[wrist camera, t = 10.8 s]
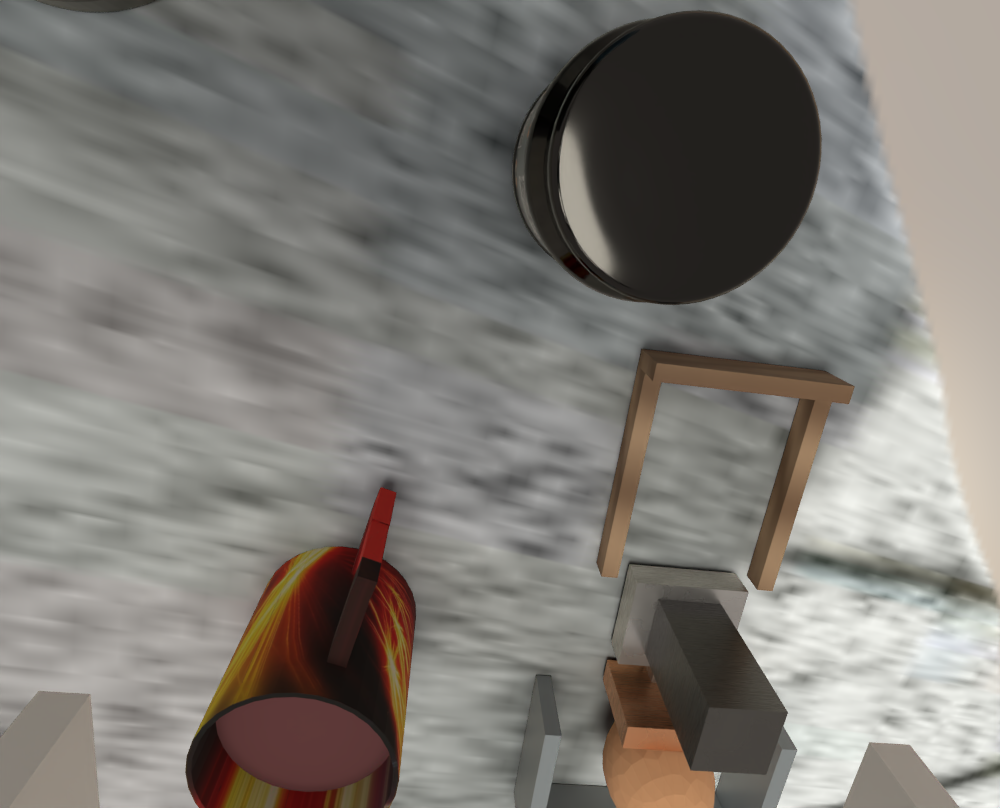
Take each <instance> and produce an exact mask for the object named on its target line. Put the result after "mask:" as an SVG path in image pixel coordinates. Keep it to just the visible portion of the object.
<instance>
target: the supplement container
mask: <svg viewBox="0 0 1000 808" xmlns="http://www.w3.org/2000/svg"><path fill="white" fill-rule="evenodd" d="M821 142H822V137H821V126H820V119H819V114H818V109H817V105H816V102H815V98H814V95H813V92H812V90H811V88H810V85H809V83H808V81H807V78H806V77H805V75H804V73H803V71H802V70H801V68H800V66H799V65H798V63H797V62H796V61H795V59H794V58H793V57H792V55H791V54H790V53H789V52H788V51H787V50H786V49H785V48H784V46H783V45H782V44H781V43H780V42H778V41H777V40H776V39H775V38H774V37H772V36H771V35H770V34H769V33H767V32H766V31H764V30H763V29H761V28H760V27H758V26H756V25H754V24H752V23H750V22H748V21H746V20H744V19H741V18H738V17H735V16H732V15H729V14H724V13H719V12H714V11H701V10H698V11H682V12H676V13H670V14H666V15H663V16H659V17H656V18H650V19H644V20H639V21H635V22H632V23H628V24H625V25H623V26H620V27H618V28H615V29H613V30H611V31H609V32H607V33H605V34H603V35H602V36H600V37H598V38H596V39H595V40H594V41H592V42H591V43H589V44H588V45H586V46H585V47H584V48H583V49H581V50H580V51H579V52H578V53H577V54H576V55H575V56H573V57H572V58H571V59H570V61H569V62H568V63H567V64H566V65H565V66H564V67H563V68H562V69H561V70H560V72H559V73H558V74H557V76H556V77H555V78H554V80H553V81H552V82H551V83H550V84H549V85H548V86H547V88H546V89H545V90H544V91H543V92H542V93H541V94H540V95H539V97H538V98H537V99H536V101H535V102H534V103H533V105H532V107H531V108H530V110H529V112H528V113H527V115H526V117H525V119H524V121H523V123H522V126H521V128H520V131H519V134H518V137H517V141H516V145H515V149H514V155H513V165H512V180H513V189H514V196H515V200H516V204H517V207H518V210H519V213H520V215H521V218H522V220H523V222H524V224H525V226H526V228H527V229H528V231H529V233H530V234H531V236H532V237H533V238H534V240H535V241H536V242H537V244H538V245H539V246H540V247H541V248H542V249H543V250H544V251H545V252H546V253H547V254H548V255H550V256H551V257H552V258H553V259H554V260H556V261H557V262H558V263H559V265H560V266H561V267H562V268H563V269H564V270H565V271H567V272H568V273H569V274H570V275H571V276H573V277H574V278H575V279H576V280H578V281H579V282H581V283H582V284H584V285H585V286H587V287H589V288H591V289H593V290H595V291H597V292H599V293H601V294H604V295H607V296H609V297H613V298H616V299H620V300H625V301H632V302H647V303H655V304H665V305H680V304H690V303H696V302H701V301H705V300H709V299H712V298H715V297H718V296H721V295H723V294H726V293H728V292H730V291H732V290H734V289H736V288H738V287H740V286H741V285H743V284H744V283H746V282H748V281H749V280H751V279H752V278H753V277H755V276H756V275H757V274H759V273H760V272H761V271H763V270H764V269H765V268H766V267H767V266H768V265H769V264H770V263H771V262H772V261H773V260H774V259H775V258H776V257H777V256H778V255H779V254H780V253H781V252H782V251H783V249H784V248H785V247H786V245H787V244H788V243H789V241H790V240H791V239H792V237H793V236H794V234H795V233H796V231H797V229H798V228H799V226H800V224H801V222H802V220H803V218H804V216H805V214H806V212H807V210H808V208H809V205H810V203H811V200H812V198H813V194H814V191H815V188H816V184H817V180H818V175H819V170H820V162H821Z"/></svg>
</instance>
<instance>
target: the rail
mask: <svg viewBox="0 0 1000 808" xmlns="http://www.w3.org/2000/svg"><path fill="white" fill-rule="evenodd" d="M661 382H664V383H673V384H681V385H690V386H698V387H707V388H716V389H724V390H733V391H741V392H750V393H759V394H767V395H776V396H784V397H793V398H800V400H799V404H798V407H797V410H796V414H795V417H794V420H793V424H792V427H791V430H790V434H789V437H788V441H787V444H786V447H785V451H784V454H783V457H782V461H781V464H780V467H779V471H778V474H777V477H776V481H775V484H774V488H773V491H772V494H771V498H770V501H769V504H768V508H767V511H766V514H765V518H764V521H763V524H762V528H761V531H760V535H759V538H758V541H757V545H756V548H755V551H754V555H753V558H752V561H751V565H750V568H749V571H748V575H747V576H748V578H749V579H750V580H751V582H752V583H753V585H754V586H755V587H756V589H757V590H767V591H772V590H773V587H774V584H775V581H776V578H777V575H778V571H779V568H780V565H781V562H782V559H783V556H784V552H785V549H786V546H787V543H788V540H789V536H790V533H791V530H792V527H793V524H794V521H795V517H796V514H797V511H798V508H799V505H800V502H801V498H802V495H803V492H804V489H805V486H806V483H807V479H808V476H809V473H810V470H811V467H812V463H813V460H814V457H815V454H816V451H817V448H818V444H819V441H820V438H821V435H822V432H823V429H824V425H825V422H826V419H827V416H828V413H829V409H830V406H831V403H832V402H836V403H845V404H849V402H850V399H851V396H852V393H853V390H854V387H855V386H853V385H851V384H849V383H847V382H845V381H843V380H841V379H839V378H837V377H835V376H834V375H832V374H830V373H828V372H826V371H821V370H812V369H804V368H796V367H788V366H779V365H771V364H763V363H755V362H746V361H738V360H730V359H722V358H713V357H705V356H697V355H689V354H680V353H672V352H664V351H656V350H647V349H642V350H641V354H640V359H639V364H638V369H637V373H636V378H635V383H634V388H633V392H632V397H631V402H630V407H629V411H628V416H627V421H626V426H625V430H624V435H623V440H622V445H621V449H620V454H619V459H618V464H617V468H616V473H615V478H614V483H613V487H612V492H611V497H610V502H609V506H608V511H607V516H606V521H605V525H604V530H603V535H602V540H601V544H600V549H599V554H598V559H597V565H598V568H599V571H600V574H601V576H602V577H614V578H617V577H618V573H619V568H620V564H621V559H622V555H623V551H624V546H625V542H626V537H627V533H628V528H629V524H630V519H631V515H632V510H633V506H634V502H635V497H636V493H637V488H638V484H639V479H640V475H641V470H642V466H643V461H644V457H645V452H646V448H647V444H648V439H649V435H650V430H651V426H652V421H653V417H654V412H655V408H656V403H657V399H658V395H659V390H660V386H661Z"/></svg>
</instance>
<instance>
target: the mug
mask: <svg viewBox="0 0 1000 808" xmlns="http://www.w3.org/2000/svg"><path fill="white" fill-rule="evenodd" d="M395 497H396V492H393V491H390V490H388V489H385V488H382V487H381V488H380V490H379V493H378V495H377V498H376V500H375V503H374V505H373V508H372V511H371V514H370V517H369V520H368V523H367V526H366V529H365V532H364V535H363V538H362V541H361V544H360V547H359V549H355V548H349V547H323V548H318V549H313V550H310V551H307V552H304V553H302V554H299V555H297V556H295V557H294V558H292V559H291V560H289V561H287V562H286V563H285V564H284V565H282V566H281V567H280V568H279V569H278V570H277V571H276V572H275V574H274V575H273V577H272V578H271V579H270V581H269V582H268V584H267V586H266V588H265V591H264V593H263V595H262V597H261V599H260V601H259V603H258V605H257V607H256V609H255V611H254V613H253V616H252V618H251V620H250V622H249V624H248V626H247V628H246V630H245V632H244V634H243V636H242V638H241V641H240V643H239V645H238V647H237V649H236V651H235V653H234V655H233V657H232V659H231V661H230V664H229V666H228V668H227V670H226V672H225V674H224V676H223V678H222V680H221V682H220V684H219V686H218V689H217V691H216V693H215V695H214V697H213V699H212V701H211V703H210V705H209V707H208V709H207V712H206V714H205V716H204V718H203V720H202V722H201V724H200V726H199V728H198V730H197V732H196V734H195V737H194V739H193V741H192V743H191V746H190V749H189V752H188V754H187V760H186V778H187V783H188V788H189V790H190V792H191V795H192V797H193V799H194V801H195V803H196V804H197V806H198V807H199V808H389V807H390V805H391V803H392V801H393V799H394V797H395V795H396V791H397V787H398V782H399V775H400V765H401V755H402V746H403V736H404V726H405V717H406V707H407V697H408V688H409V678H410V668H411V659H412V649H413V639H414V629H415V620H416V608H415V601H414V598H413V594H412V591H411V589H410V588H409V586H408V584H407V582H406V580H405V579H404V578H403V577H402V575H401V574H400V573H399V572H398V571H397V570H396V569H395V568H394V567H393V566H391V565H390V564H389V563H388V562H386V561H385V560H383V559H382V558H383V553H384V548H385V544H386V539H387V534H388V529H389V525H390V521H391V516H392V511H393V507H394V502H395Z"/></svg>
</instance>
